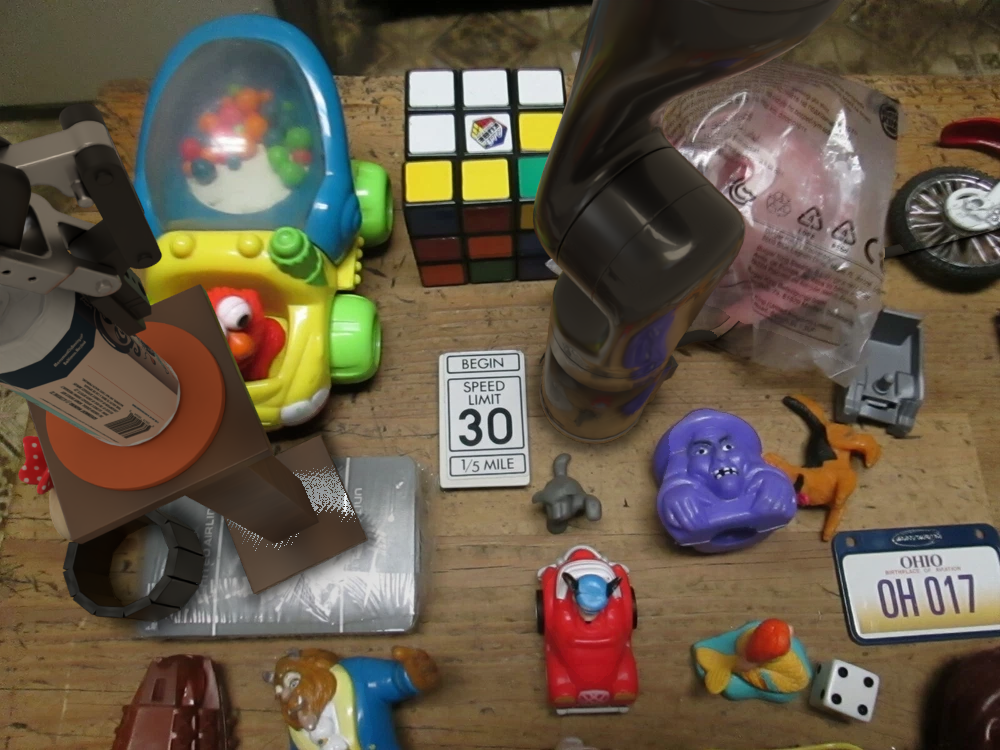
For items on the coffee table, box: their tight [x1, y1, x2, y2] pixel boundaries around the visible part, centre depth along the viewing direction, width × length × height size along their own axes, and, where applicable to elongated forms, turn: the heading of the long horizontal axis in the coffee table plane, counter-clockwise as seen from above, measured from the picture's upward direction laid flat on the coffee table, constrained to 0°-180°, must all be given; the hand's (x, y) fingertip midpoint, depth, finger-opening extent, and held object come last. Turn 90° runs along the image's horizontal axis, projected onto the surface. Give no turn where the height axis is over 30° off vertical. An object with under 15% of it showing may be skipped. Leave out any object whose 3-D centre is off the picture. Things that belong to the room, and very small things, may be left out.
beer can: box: [0, 285, 180, 446], centre depth 35 cm, size 5×5×12 cm
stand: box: [25, 283, 369, 596], centre depth 56 cm, size 10×10×31 cm
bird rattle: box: [17, 435, 73, 542], centre depth 67 cm, size 6×11×9 cm
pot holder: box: [46, 322, 225, 491], centre depth 41 cm, size 9×9×1 cm
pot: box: [62, 508, 206, 623], centre depth 66 cm, size 9×9×6 cm
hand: (56, 346), depth 34 cm, fingers open, 6 cm apart
